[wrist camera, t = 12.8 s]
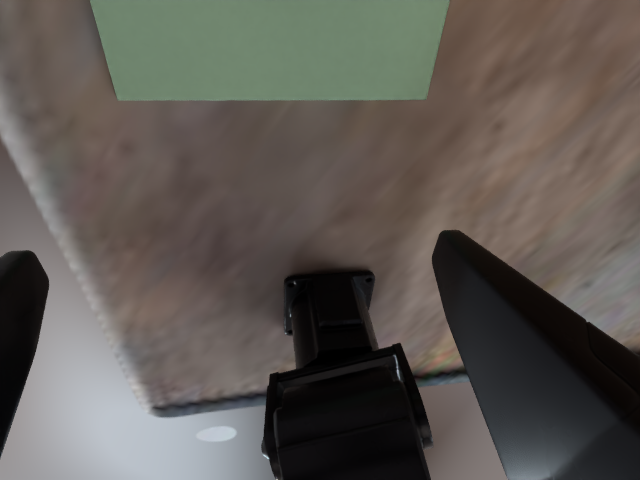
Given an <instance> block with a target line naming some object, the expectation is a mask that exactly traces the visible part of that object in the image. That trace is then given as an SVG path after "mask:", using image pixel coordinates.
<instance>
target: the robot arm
mask: <svg viewBox="0 0 640 480" xmlns="http://www.w3.org/2000/svg"><path fill="white" fill-rule="evenodd" d="M432 265H433V269H434V273H435V277H436V281H437V285H438V288H439V292H440V296H441V300H442V304H443V308H444V312H445V315H446V319H447V322H448V324H449V327H450V330H451V332H452V335H453V338H454V340H455V343H456V346H457V348H458V351H459V353H460V356H461V359H462V361H463V364H464V366H465V369H466V372H467V374H468V377H469V379H470V382H471V385H472V387H473V390H474V393H475V395H476V398H477V400H478V403H479V406H480V408H481V411H482V413H483V416H484V419H485V421H486V424H487V426H488V429H489V432H490V434H491V437H492V440H493V442H494V444H495V447H496V450H497V452H498V455H499V458H500V460H501V463H502V465H503V468H504V471H505V473H506V476H507V479H508V480H640V356H638V355H637V354H635V353H634V352H632V351H631V350H629V349H628V348H626V347H625V346H623V345H622V344H620V343H619V342H617V341H616V340H614V339H613V338H611V337H610V336H608V335H607V334H605V333H604V332H603V331H601V330H600V329H598V328H597V327H596V326H594V325H593V324H591V323H590V322H586V320H585V319H584V318H583V317H581V316H580V315H578V314H577V313H576V312H574V311H573V310H571V309H570V308H569V307H567V306H566V305H564V304H563V303H561V302H560V301H559V300H557V299H556V298H554V297H553V296H552V295H550V294H549V293H547V292H546V291H544V290H543V289H542V288H540V287H539V286H537V285H536V284H535V283H533V282H532V281H530V280H529V279H527V278H526V277H525V276H523V275H522V274H520V273H519V272H518V271H516V270H515V269H513V268H512V267H510V266H509V265H508V264H506V263H505V262H503V261H502V260H501V259H499V258H498V257H496V256H495V255H493V254H492V253H491V252H489V251H488V250H486V249H485V248H484V247H482V246H481V245H479V244H478V243H477V242H475V241H474V240H472V239H471V238H469V237H468V236H467V235H465V234H464V233H462V232H461V231H459V230H444V231H442V232H441V233H440V234H439V237H438V240H437V243H436V246H435V249H434V251H433V255H432ZM374 283H375V276H374V274H373V272H370V271H365V272H349V273H333V274H316V275H300V276H289V277H287V278H286V279H285V280H284V332H285V334H286V335H293V343H294V352H295V361H296V369H295V370H291V371H286V372H282V373H278V372H276V373H272V374H270V379H269V386H268V387H267V399H266V412H265V425H264V437H263V441H262V445H261V446H262V447H261V448H262V453H263V455H264V456H265V457H267V458H268V459H269V461H270V465H271V468H272V471H273V474H274V476H275V478H276V480H431V478H430V474H429V471H428V467H427V463H426V460H425V456H424V452H423V450H424V449H429V448H433V439H432V435H431V430H430V426H429V422H428V419H427V415H426V412H425V408H424V405H423V402H422V399H421V396H420V393H419V390H418V387H417V385H416V382H415V380H414V377H413V374H412V372H411V369H410V367H409V364H408V361H407V359H406V356H405V353H404V351H403V348H402V346H401V343H397V344H393V345H392V346H390V347H386V348H382V349H379V348H378V344H377V340H376V337H375V333H374V330H373V326H372V323H371V319H370V315H369V312H368V310H369V305H370V301H371V296H372V292H373V287H374ZM48 290H49V279H48V276H47V274H46V272H45V271H44V269H43V267H42V265H41V263H40V262H39V260H38V258H37V256H36V255H35V254H34V253H33V252H32V251H29V250H26V251H11V252H8V253H6V254H4V255H3V256H1V257H0V458H1V455H2V452H3V449H4V446H5V443H6V440H7V437H8V434H9V431H10V428H11V425H12V422H13V419H14V416H15V413H16V410H17V407H18V404H19V401H20V398H21V395H22V392H23V389H24V386H25V383H26V380H27V377H28V374H29V371H30V368H31V365H32V362H33V359H34V356H35V352H36V348H37V344H38V339H39V335H40V329H41V324H42V319H43V314H44V310H45V304H46V299H47V295H48Z"/></svg>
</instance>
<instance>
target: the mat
mask: <svg viewBox="0 0 640 480" xmlns="http://www.w3.org/2000/svg"><path fill="white" fill-rule="evenodd" d="M449 1H450V0H90V2H91V6H92V10H93V13H94V17H95V21H96V24H97V28H98V31H99V35H100V39H101V42H102V46H103V50H104V53H105V57H106V60H107V64H108V68H109V71H110V75H111V79H112V82H113V86H114V89H115V93H116V97H117V100H426V98H427V94H428V89H429V85H430V81H431V77H432V73H433V69H434V64H435V60H436V56H437V52H438V48H439V43H440V39H441V35H442V31H443V27H444V22H445V18H446V14H447V10H448V6H449Z"/></svg>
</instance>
